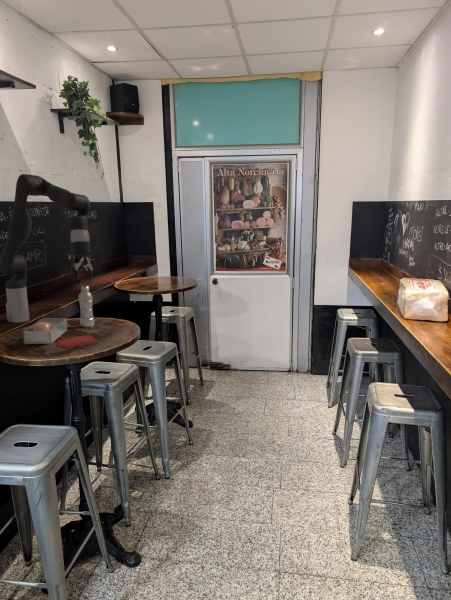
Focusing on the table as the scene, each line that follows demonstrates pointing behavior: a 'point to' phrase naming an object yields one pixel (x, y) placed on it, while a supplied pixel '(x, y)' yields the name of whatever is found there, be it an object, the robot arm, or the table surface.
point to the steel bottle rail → (46, 337)
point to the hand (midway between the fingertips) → (83, 279)
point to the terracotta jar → (41, 326)
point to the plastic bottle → (86, 307)
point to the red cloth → (76, 342)
